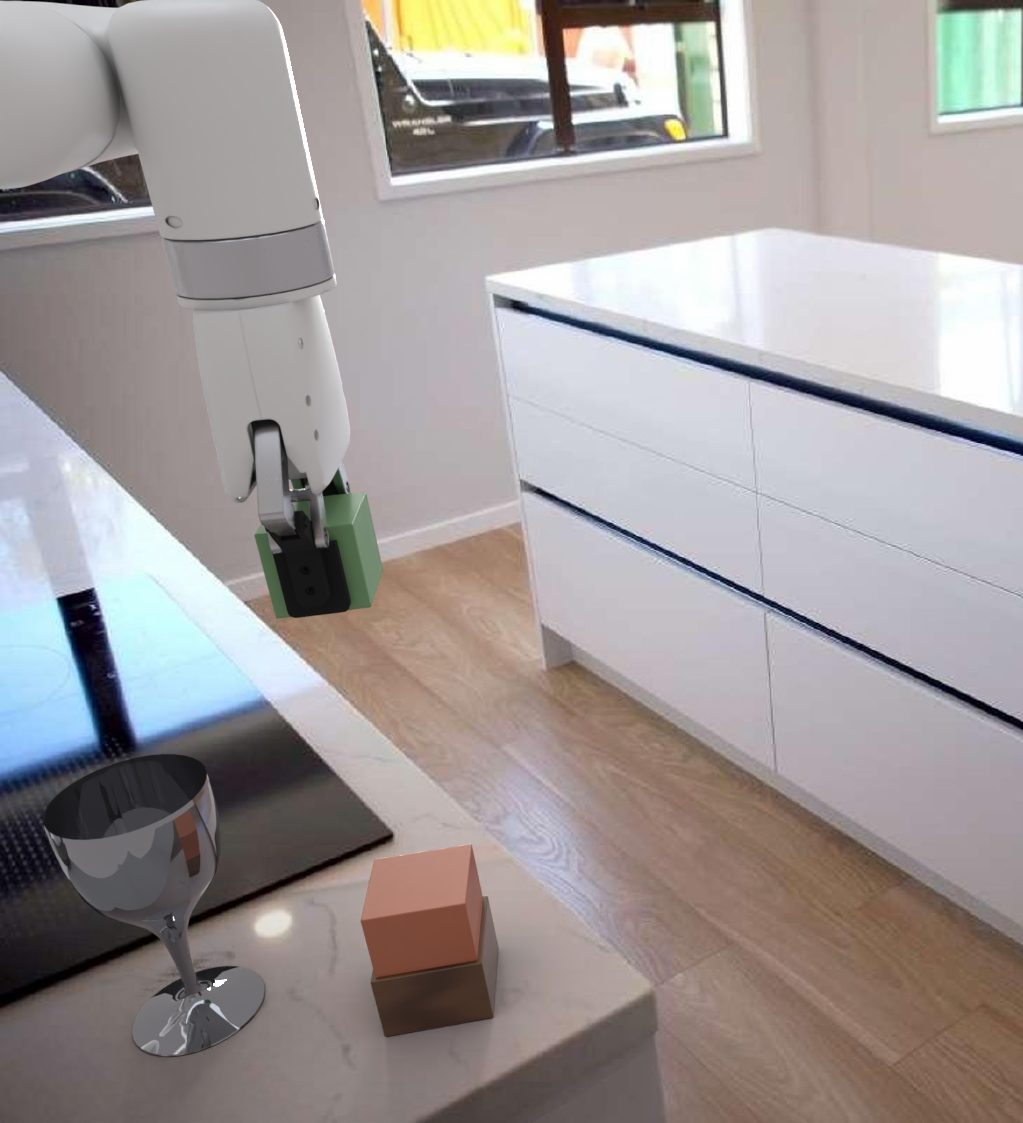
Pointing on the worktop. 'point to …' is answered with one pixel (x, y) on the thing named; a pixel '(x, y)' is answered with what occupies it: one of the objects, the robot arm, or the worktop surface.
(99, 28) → the robot arm
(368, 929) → the terracotta block
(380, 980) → the walnut block
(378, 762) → the worktop surface
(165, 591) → the worktop surface
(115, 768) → the wine glass
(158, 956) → the worktop surface
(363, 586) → the green block
